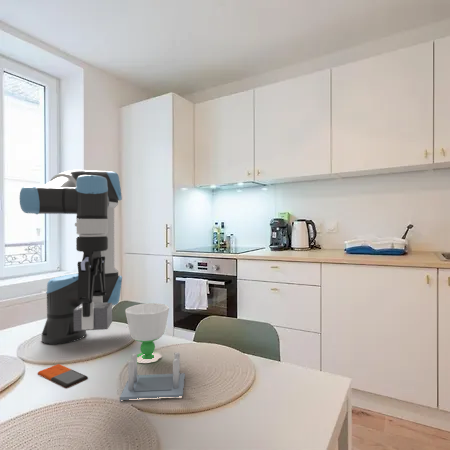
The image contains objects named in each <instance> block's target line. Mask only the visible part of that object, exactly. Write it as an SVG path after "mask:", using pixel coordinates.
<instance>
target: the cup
mask: <svg viewBox="0 0 450 450" xmlns="http://www.w3.org/2000/svg"><path fill="white" fill-rule="evenodd" d="M124 312H125V316H126V322H127V325H128V326H127V327H128V330H129V335H130V337H131V338H132V339H133V340H134V341H136V342H139V343H141V344H140V347H139V348H140V353H138V354H137V357H139V356H141V355H143V354H145V355H143V356H142V358H143V359H152V358H154V355H152V353H153V352H155V349H156V346H155V341H157V340H159V339H160V338H162V337H163V336H164V335H165V334H164V333H165V332H166V331H165V330H166V326H167V322H168V316H169V312H170V307H169V305H168V304H167V305H166V304H163V303H157V302H156V303H154V302H153V303H150V302H149V303H139V304H135V305H132V306H128V307H127V308H125V310H124Z"/></svg>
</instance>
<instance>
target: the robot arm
mask: <svg viewBox="0 0 450 450" xmlns="http://www.w3.org/2000/svg"><path fill="white" fill-rule="evenodd" d="M122 198H123V196H122V188H121V182H120V176H119V174H118V173H117V172H116V171H110V170H109V171H108V170H86V169H83V170H82V169H73V170H67V171H64V172H63V171H62V172H60V173H57V174H56V175H54V176H53V177H51V179H50V181H49V182H46V183H45V184H43V185H39V186H37V185H27V186H23V187H21V189H20V192H19V206H20V209H21V211H22V212H23V213H24V214H35V215H40V214H41V215H42V214H44V215H45V214H47V215H50V214H51V215H52V214H53V215H57V214H59V215H61V214H64V215H76V222H75V223H74V227H76V234H77V235H78V236H77V237H76V241H75V242H76V248H75V249H76V251H77V252H80V253H81V252H82V253H83V255H82V260H81V261H78V262H77V271H78V272H77V273H73V274H67V275H66V274H65V275H62V276H61V275H60V276H56V277H54V278H51V279H49V280H48V281H47V284H46V291H45V294H46V319H45V320H46V321H45V323H44V325H43V326H44V327H43V329H42V332H41V342H42V343H43V342H44V344H46V343H49V345H58V344H57V343H62V344H66V343H65V342H68V343H72V342H75V341H74V340H76V341H78V340H77V339H79V340H81V339H83V338H84V337H86V336H87V330H86V329H94V303H112V307H113V306H116V305H118V304H119V303H120V297H121V291H122V290H121V289H122V284H123V276H122V275H120V274H119V270H118V269H117V268H116V267H115V208H116V207H118V206H119V202H120V201H122ZM80 304H82V330H85V331H74V327H73V322H74V309H76V308H77V307H78V306H79V305H80ZM83 336H84V337H83ZM82 337H83V338H82ZM80 338H81V339H80ZM71 341H72V342H71Z"/></svg>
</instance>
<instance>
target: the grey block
mask: <svg viewBox="0 0 450 450" xmlns="http://www.w3.org/2000/svg"><path fill="white" fill-rule="evenodd" d="M112 323H113V306H112V303H94V329H86V331H99V330H100V331H101V330H103V331H104V330H109V328H110V327H111V325H112ZM73 327H74V331H85V330H82V304H80V305H79V306H78V307H77V308H76V309H74V322H73Z"/></svg>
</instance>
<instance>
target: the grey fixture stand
mask: <svg viewBox="0 0 450 450" xmlns="http://www.w3.org/2000/svg"><path fill="white" fill-rule="evenodd" d="M137 355H138V354H137V353H133V354H131V360H128V361H127V374H128V375H127V381H126V383H125V385H124V387H123V389H122V392H121V394H120V396H119V402H122V401H121V400H129V399H137V398H138V399H139V398H157V397H158V398H159V397H179V396H183V397H184V390H183V388H184V389H185V381H184V379H185V377H186V373H185V372H182V373H180V368H181V367H180V366H181V364H180V362H181V359H180V355H181V354H180V352H179V351H178V352H174V356H173V357H174V358H173V359H172V373H158V374H157V373H155V374H153V373H151V374H138V363H137Z"/></svg>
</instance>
